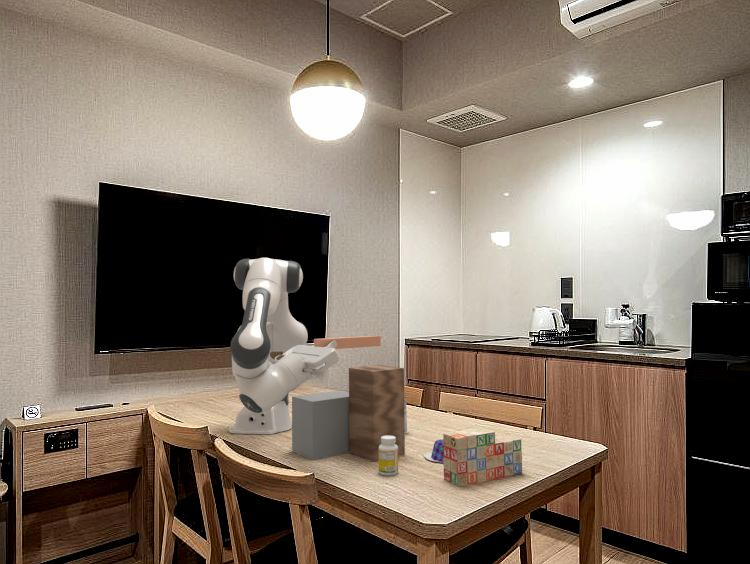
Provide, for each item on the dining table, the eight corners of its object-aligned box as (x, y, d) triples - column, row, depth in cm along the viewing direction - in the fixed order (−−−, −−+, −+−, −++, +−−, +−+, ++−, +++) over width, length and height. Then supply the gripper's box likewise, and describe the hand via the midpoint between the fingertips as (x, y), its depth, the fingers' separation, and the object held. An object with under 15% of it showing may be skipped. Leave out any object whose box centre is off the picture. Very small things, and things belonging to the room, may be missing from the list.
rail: (319, 350, 159) (319, 339, 159) (313, 349, 161) (313, 339, 161) (380, 345, 172) (380, 336, 172) (374, 345, 175) (374, 335, 175)
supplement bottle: (390, 477, 149) (389, 440, 150) (374, 473, 153) (374, 437, 153) (402, 472, 154) (402, 436, 154) (387, 468, 157) (386, 433, 157)
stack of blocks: (507, 468, 157) (506, 423, 158) (522, 474, 152) (521, 427, 152) (443, 480, 147) (442, 432, 148) (457, 487, 142) (456, 437, 142)
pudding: (470, 464, 162) (470, 445, 162) (429, 465, 161) (429, 447, 161) (459, 452, 174) (459, 435, 174) (420, 454, 172) (420, 437, 173)
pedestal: (312, 459, 166) (312, 401, 167) (292, 451, 176) (291, 396, 176) (361, 449, 177) (361, 394, 178) (339, 442, 187) (339, 390, 187)
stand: (373, 461, 164) (372, 371, 164) (349, 453, 173) (348, 367, 174) (404, 454, 171) (403, 368, 172) (379, 446, 181) (379, 364, 181)
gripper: (309, 363, 146) (347, 334, 154) (271, 357, 162) (307, 331, 170) (320, 383, 148) (356, 353, 156) (281, 375, 164) (316, 349, 171)
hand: (330, 342), depth 163 cm, fingers closed on rail, 3 cm apart
